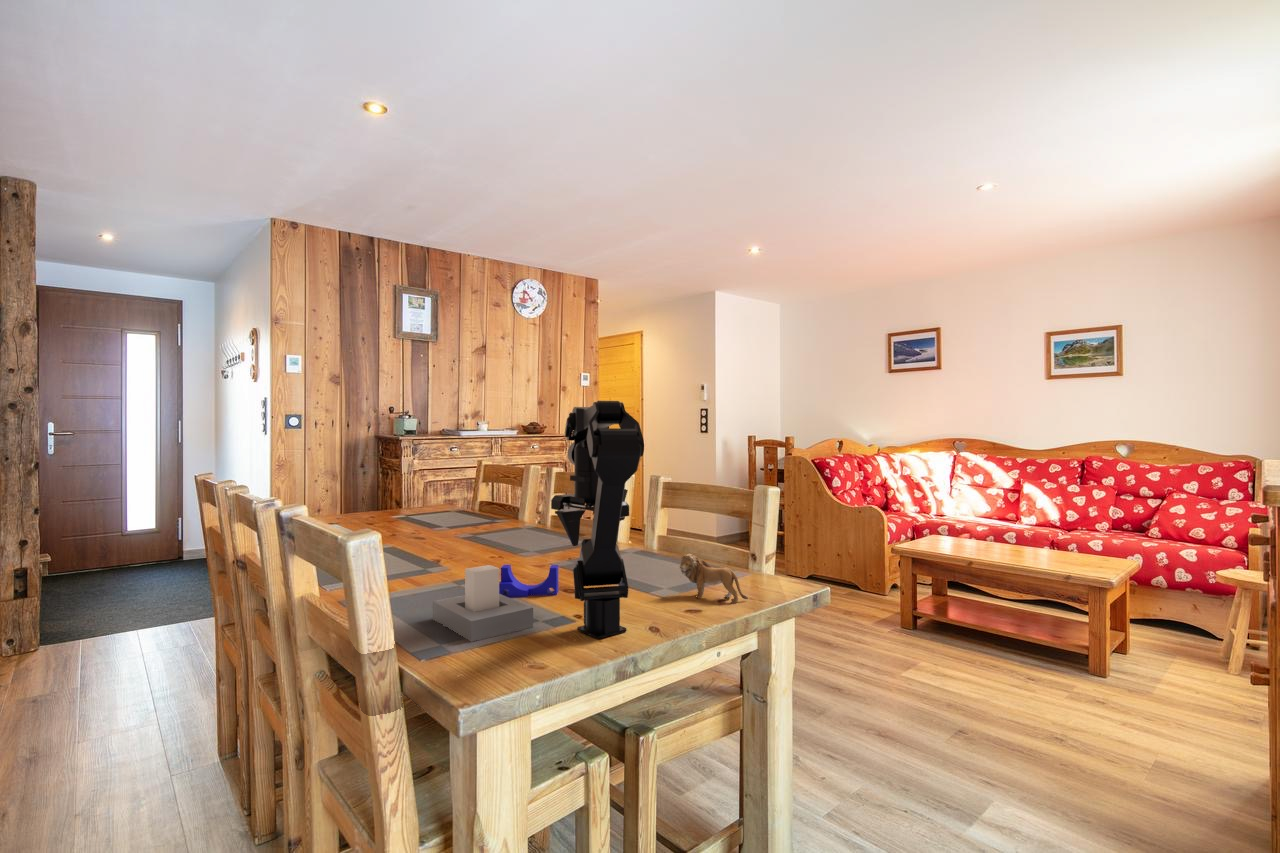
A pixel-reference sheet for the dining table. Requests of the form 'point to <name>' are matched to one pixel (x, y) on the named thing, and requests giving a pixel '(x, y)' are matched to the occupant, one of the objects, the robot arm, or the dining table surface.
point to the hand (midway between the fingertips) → (588, 549)
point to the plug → (481, 588)
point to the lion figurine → (709, 576)
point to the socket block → (482, 617)
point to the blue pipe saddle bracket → (517, 589)
